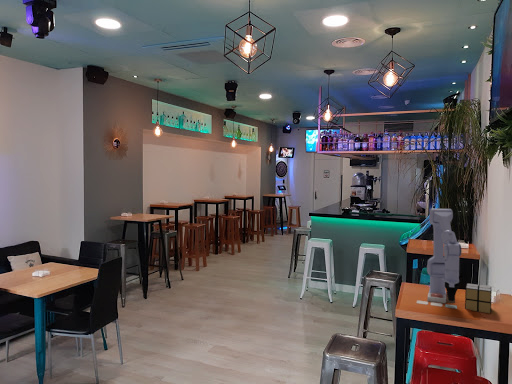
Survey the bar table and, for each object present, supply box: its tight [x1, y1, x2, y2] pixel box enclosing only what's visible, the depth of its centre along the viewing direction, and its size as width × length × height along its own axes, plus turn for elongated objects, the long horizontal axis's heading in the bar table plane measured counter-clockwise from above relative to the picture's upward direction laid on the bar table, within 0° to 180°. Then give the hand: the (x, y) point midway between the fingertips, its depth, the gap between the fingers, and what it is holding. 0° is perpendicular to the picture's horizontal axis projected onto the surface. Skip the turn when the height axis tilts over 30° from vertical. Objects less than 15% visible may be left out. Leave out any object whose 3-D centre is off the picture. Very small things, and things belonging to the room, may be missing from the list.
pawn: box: [446, 293, 456, 304], centre depth 177 cm, size 3×3×7 cm
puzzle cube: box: [464, 283, 493, 314], centre depth 176 cm, size 10×10×10 cm
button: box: [431, 293, 443, 298], centre depth 187 cm, size 5×5×3 cm
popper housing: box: [426, 292, 447, 304], centre depth 187 cm, size 8×8×2 cm
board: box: [416, 299, 458, 309], centre depth 180 cm, size 6×18×1 cm, turn 64°
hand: (451, 299), depth 177 cm, fingers closed on pawn, 3 cm apart
